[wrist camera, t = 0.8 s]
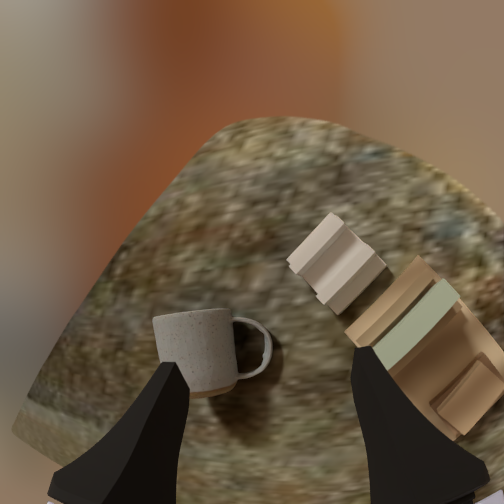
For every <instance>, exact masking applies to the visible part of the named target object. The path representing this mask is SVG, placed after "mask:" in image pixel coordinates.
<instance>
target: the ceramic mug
mask: <svg viewBox="0 0 504 504" xmlns="http://www.w3.org/2000/svg"><path fill="white" fill-rule="evenodd" d="M152 321H153V327H154V332H155V337H156V343H157V349H158V354H159V358H160V363H162V362H176V364H177V365H178V367H179V369H180V371H181V373H182V375H183V377H184V379H185V381H186V383H187V384H188V386H189V388H190V397H189V399H194V398H205V397H211V396H217V395H220V394H223V393H226V392H228V391H230V390H232V389H233V388H234V387H235V385H236V383H237V380H238V379H245V378H249V377H253V376H255V375H257V374H259V373H260V372H262V371H263V370H264V369H265V368H266V367H267V366H268V364H269V362H270V360H271V357H272V352H273V344H272V339H271V336H270V334H269V332H268V330H267V329H266V328H265V327H264V326H263V325H262V324H260V323H258V322H257V321H254V320H252V319H247V318H241V317H232V314H231V310H230V309H208V310H198V311H189V312H181V313H174V314H168V315H162V316H157V317H154V318H153V320H152ZM235 321H240V322H244V323H248V324H251V325H253V326H255V327H256V328H257V329H259V331H261V332H262V333H263V334H264V338H265V352H264V354H263V362H262V365H261V366H260V367H259V368H257V369H255V370H253V371H250V372H246V373H238V368H237V361H236V354H235V344H234V332H233V331H234V330H233V322H235Z"/></svg>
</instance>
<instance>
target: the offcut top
mask: <svg viewBox="0 0 504 504" xmlns="http://www.w3.org/2000/svg"><path fill="white" fill-rule="evenodd" d="M503 390H504V383H503V382H502V381H501V380H500V379H499V378H498V377H497V376H496V375H495V374H493V373H492V372H491V371H490V370H489V369H488V368H487V367H486V366H485V365H484V364H482V363H481V362H480V361H479V360H477V361H476V362H475V363H474V365H473V366H472V367H471V369H470V370H469V371H468V373H467V374H466V375H465V376H464V378H463V379H462V380H461V381H460V383H459V384H458V385H457V386H456V387H455V389H454V390H453V391H452V392H451V393H450V394H449V396H448V397H447V398H446V399H445V400H444V401H443V402H442V403H441V405H440V406H439V407H438V408H437V411H438V414H439V415H441V416H442V417H443V418H444V419H445V420H446V421H448V422H449V423H450V424H451V425H452V426H454V427H455V428H456V429H457V430H458V431H460V432H461V433H462V434H463V435H465V434H466V433H467V432H468V431H469V430H470V429H471V428H472V427H473V426H474V425H475V424H476V422H477V421H478V420H479V419H480V418H481V417H482V416H483V415H484V413H485V412H486V411H487V410H488V409H489V407H490V406H491V405H492V404H493V403H494V401H495V400H496V399H497V398H498V396H499V395H500V394H501V392H502V391H503Z"/></svg>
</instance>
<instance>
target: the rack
mask: <svg viewBox="0 0 504 504" xmlns="http://www.w3.org/2000/svg"><path fill="white" fill-rule="evenodd" d="M440 280H441V278H440V277H439V276H438V275H437V274H436V273H435V272H434V271H433V270H432V269H431V267H430V266H429V265H428V264H427V263H426V262H425V261H424V260H423V259H422V258H421V257H420V256H419V255H418V256H417V257H416V258H415V259H414V261H413V262H412V263H411V264H410V265H409V266H408V267H407V268H406V269H405V271H404V272H403V273H402V274H401V275H400V276H399V277H398V278H397V279H396V280H395V281H394V283H393V284H392V285H391V286H390V287H389V288H388V289H387V290H386V291H385V292H384V293H383V294H382V295H381V296H380V297H379V298H378V299H377V300H376V301H375V302H374V303H373V304H372V305H371V306H370V307H369V308H368V309H367V310H366V311H365V312H364V313H363V314H362V315H361V316H360V317H359V318H358V319H357V320H356V321H355V322H354V323H353V324H352V325H351V326H350V327H349V328H348V329H347V330H346V331H344V332H345V333H346V334H347V335H348V337H349V338H350V339H351V340H352V341H353V342H354V343H355V345H356V346H357V347H358V348H359V347H365V346H371V347H372V348H373V346H374V345H375V344H377V343H378V342H379V341H380V340H381V339H382V338H383V337H384V336H385V335H386V334H387V333H388V332H389V331H390V330H391V329H392V328H393V327H394V326H395V325H396V324H397V323H398V322H399V321H400V320H401V319H402V318H403V317H404V316H405V315H406V314H407V313H408V312H409V311H410V310H411V309H412V308H413V307H414V306H415V305H416V304H417V303H418V302H419V300H420V299H421V298H422V297H423V296H424V295H425V294H426V293H427V292H428V291H429V289H430V288H431V287H432V286H433V285H435V284H436V283H437V282H439V281H440ZM480 351H481V352H483V353H485V355H486V356H487V357H488V358H489V360H490V361H491V362H492V364H493V365H494V366H495V367H496V369H497V370H498V371H499V373H500V374H501V375H502V377H503V378H504V352H503V350H502V349H501V348H500V347H499V345H498V344H497V343H496V341H495V340H494V339H493V338H492V336H491V335H490V334H489V333H488V331H487V330H486V329H485V328H484V326H483V325H482V324H481V323H480V322H479V320H478V319H477V318H476V317H475V316H474V314H473V313H472V312H471V311H470V310H469V309H468V308H467V306H466V305H465V304H464V303H463V302H462V301H461V300H460V298H459V299H458V300H457V301H456V302H455V303H454V305H453V306H452V307H451V308H450V309H449V310H448V311H447V313H446V314H445V315H444V316H443V317H442V318H441V319H440V320H439V321H438V322H437V323H436V324H435V326H434V327H433V328H432V329H431V330H430V331H429V332H428V333H427V334H426V335H425V336H424V337H423V338H422V339H421V340H420V341H419V342H418V343H417V344H416V345H415V346H414V347H413V348H412V349H411V350H410V351H409V352H408V353H407V354H405V355H404V356H403V357H402V358H401V359H400V360H399V361H398V362H397V363H396V364H395V365H394V366H392V367H391V368H390V369H389V370H388V372H389V374H390V375H391V377H392V378H393V379H394V381H395V382H396V383H397V385H398V386H399V387H400V389H401V390H402V391H403V392H404V394H405V395H406V396H407V397H408V398H409V400H410V401H411V402H412V403H413V404H414V405H415V406H416V408H417V409H418V410H419V411H420V412H421V413H422V414H423V415H424V416H425V417H426V418H427V419H428V420H429V421H430V422H431V423H432V424H433V425H434V426H435V427H436V428H438V429H439V430H440V431H441V432H442V433H444V434H445V435H446V436H447V437H448V438H450V439H451V440H452V441H454V440H455V439H456V438H458V437H459V436H460V435H461V434H462V433H461V432H458V433H457V434H456V435H455V436H454V434H453V433H452V432H451V431H450V430H449V428H448V427H447V426H446V425H445V423H444V422H443V421H442V420H441V419H440V417H439V416H438V415H437V414H436V413H435V412H434V410H433V409H432V408H431V407H430V404H429V402H430V401H431V400H432V399H433V398H434V397H435V396H436V395H437V394H439V393H440V392H441V391H442V390H443V389H444V388H445V387H446V386H447V385H448V384H449V383H450V382H451V381H452V380H454V379H455V378H456V377H457V376H458V375H459V374H460V373H461V372H462V371H463V370H464V369H465V368H466V366H467V365H468V364H469V363H470V362H471V361H472V360H473V359H474V358H475V357H476V356H477V355H478V354H479V353H480ZM503 394H504V390H503V391H502V392H501V394H500V395H499V396H498V398H497V399H496V400H495V401H494V403H493V404H492V405H491V406H490V407H489V409H490V408H491V407H492V406H493V405H494V404H495V403H496V402H497V401H498V400H499V399H500V398H501V397H502V395H503ZM489 409H488V410H489ZM488 410H487V411H488ZM487 411H486V412H487ZM486 412H485V413H486ZM485 413H484V414H485Z"/></svg>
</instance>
